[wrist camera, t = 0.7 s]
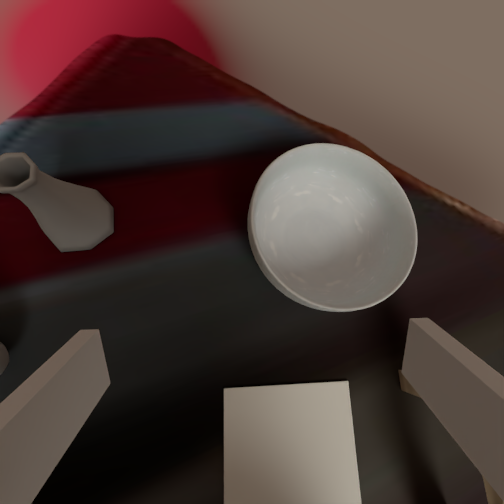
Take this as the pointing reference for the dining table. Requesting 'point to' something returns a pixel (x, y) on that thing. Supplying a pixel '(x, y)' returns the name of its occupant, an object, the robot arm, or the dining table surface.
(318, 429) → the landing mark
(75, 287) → the dining table surface
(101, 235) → the flask
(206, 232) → the dining table surface
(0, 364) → the donut
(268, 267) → the cereal bowl
